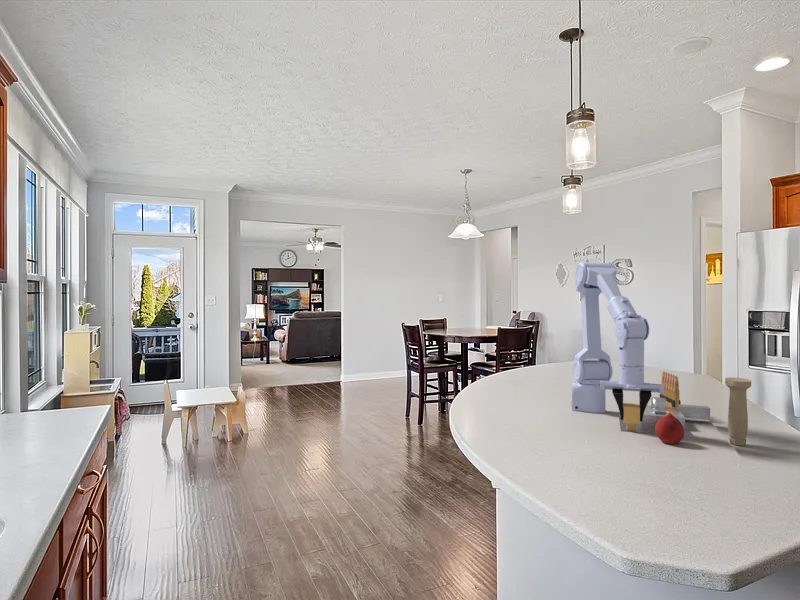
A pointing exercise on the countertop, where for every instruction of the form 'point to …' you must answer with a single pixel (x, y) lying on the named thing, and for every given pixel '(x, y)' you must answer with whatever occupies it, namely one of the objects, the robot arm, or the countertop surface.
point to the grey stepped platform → (659, 411)
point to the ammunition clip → (670, 390)
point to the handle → (738, 410)
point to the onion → (669, 429)
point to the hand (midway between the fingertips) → (631, 419)
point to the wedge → (631, 415)
